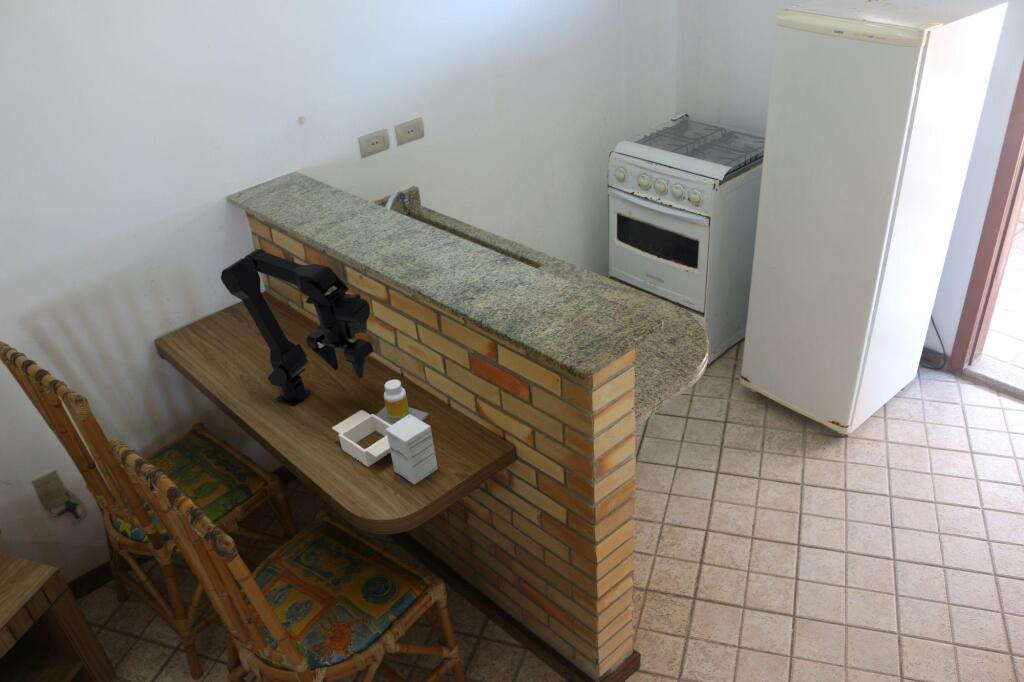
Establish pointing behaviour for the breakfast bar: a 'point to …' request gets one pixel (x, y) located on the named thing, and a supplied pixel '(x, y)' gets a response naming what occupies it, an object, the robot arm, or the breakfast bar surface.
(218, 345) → the breakfast bar surface
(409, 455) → the supplement box
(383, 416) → the mat
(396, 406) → the supplement bottle
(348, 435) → the carton
